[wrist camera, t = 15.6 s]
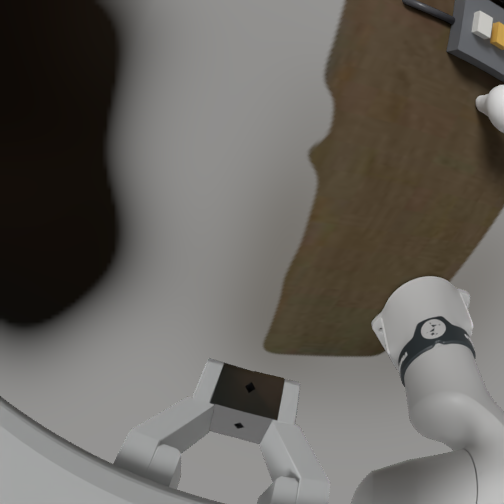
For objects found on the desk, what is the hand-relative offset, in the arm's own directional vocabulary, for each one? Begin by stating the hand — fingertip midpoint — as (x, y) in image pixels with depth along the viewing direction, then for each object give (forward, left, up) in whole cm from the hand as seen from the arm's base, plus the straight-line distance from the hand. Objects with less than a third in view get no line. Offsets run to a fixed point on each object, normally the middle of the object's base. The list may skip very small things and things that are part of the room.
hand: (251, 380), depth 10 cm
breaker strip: (+9, -30, -37) cm, 48 cm away
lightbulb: (-1, -27, -37) cm, 46 cm away
